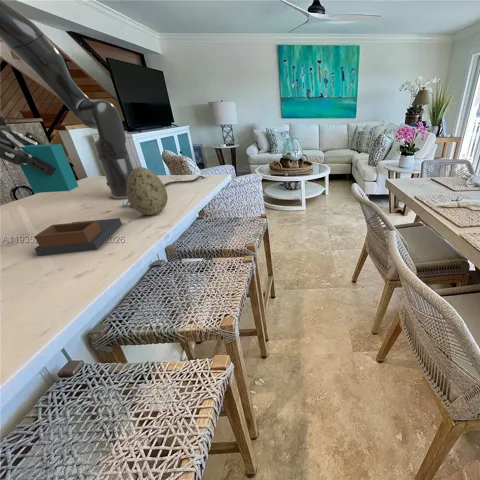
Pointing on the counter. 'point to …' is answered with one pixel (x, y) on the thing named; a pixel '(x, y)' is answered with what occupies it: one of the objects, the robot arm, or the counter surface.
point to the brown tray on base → (75, 236)
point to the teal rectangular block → (60, 177)
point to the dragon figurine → (126, 203)
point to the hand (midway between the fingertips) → (58, 169)
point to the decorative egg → (146, 191)
